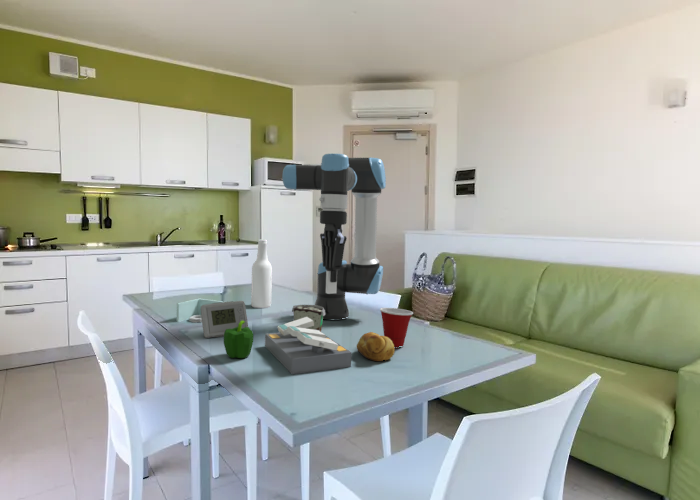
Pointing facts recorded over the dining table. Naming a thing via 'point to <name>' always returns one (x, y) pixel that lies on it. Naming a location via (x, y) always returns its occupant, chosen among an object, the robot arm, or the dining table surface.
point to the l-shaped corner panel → (192, 309)
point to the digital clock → (222, 317)
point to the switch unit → (305, 354)
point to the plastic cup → (395, 324)
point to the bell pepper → (238, 341)
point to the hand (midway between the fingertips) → (331, 292)
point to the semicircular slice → (310, 314)
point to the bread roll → (375, 347)
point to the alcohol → (261, 278)
